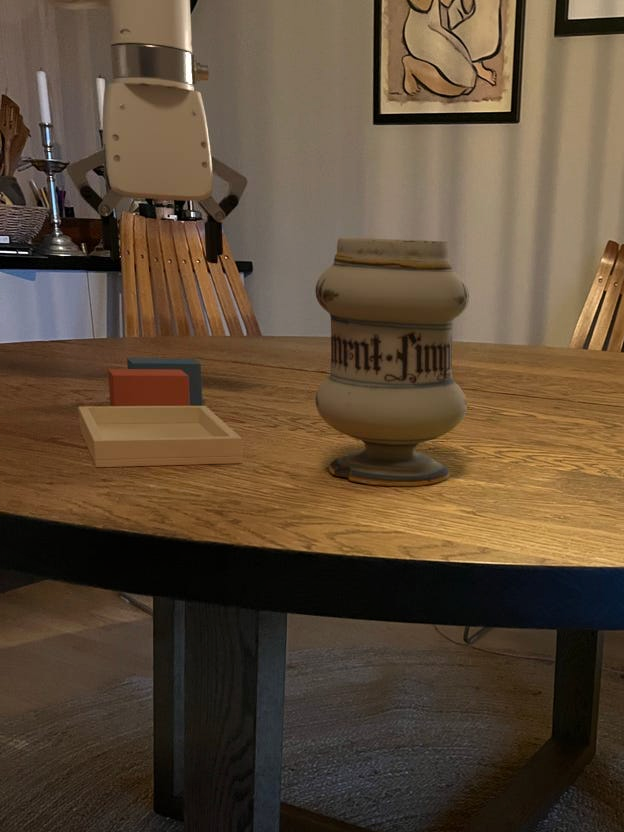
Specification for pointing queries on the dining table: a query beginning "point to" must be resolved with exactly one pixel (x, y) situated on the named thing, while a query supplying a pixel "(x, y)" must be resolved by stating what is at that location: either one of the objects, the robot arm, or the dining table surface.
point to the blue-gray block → (184, 364)
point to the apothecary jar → (391, 356)
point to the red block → (148, 387)
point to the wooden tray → (157, 436)
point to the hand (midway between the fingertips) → (164, 261)
